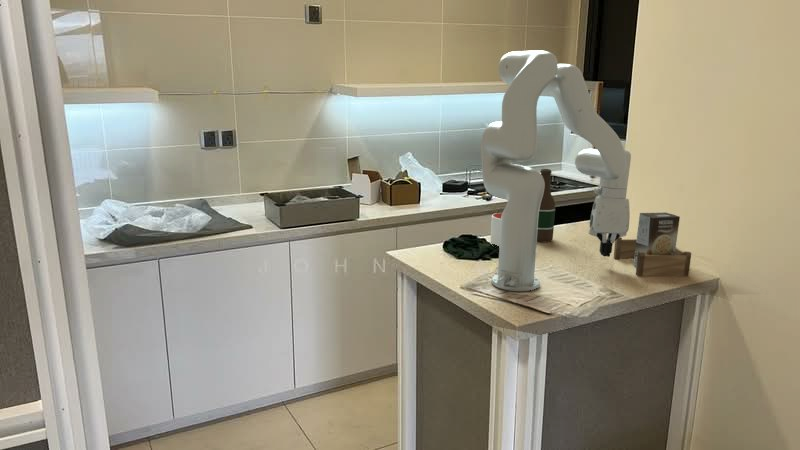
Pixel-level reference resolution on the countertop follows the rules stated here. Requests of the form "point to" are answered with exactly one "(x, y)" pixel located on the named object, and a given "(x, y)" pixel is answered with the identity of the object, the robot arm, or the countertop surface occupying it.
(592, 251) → the countertop surface
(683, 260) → the crate
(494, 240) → the cup
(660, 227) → the coffee box
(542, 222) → the beer bottle
